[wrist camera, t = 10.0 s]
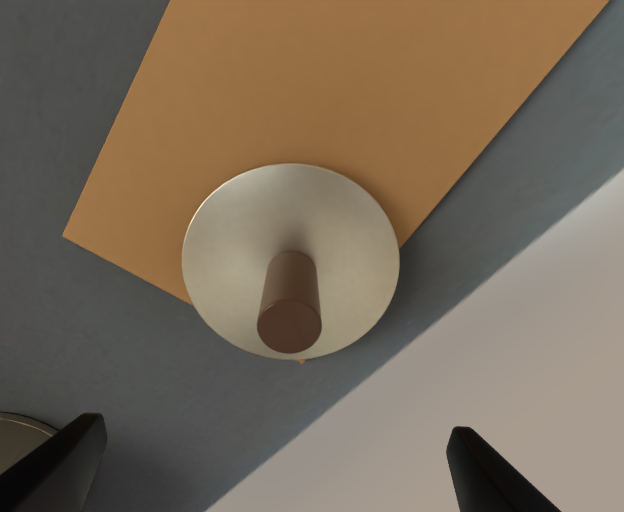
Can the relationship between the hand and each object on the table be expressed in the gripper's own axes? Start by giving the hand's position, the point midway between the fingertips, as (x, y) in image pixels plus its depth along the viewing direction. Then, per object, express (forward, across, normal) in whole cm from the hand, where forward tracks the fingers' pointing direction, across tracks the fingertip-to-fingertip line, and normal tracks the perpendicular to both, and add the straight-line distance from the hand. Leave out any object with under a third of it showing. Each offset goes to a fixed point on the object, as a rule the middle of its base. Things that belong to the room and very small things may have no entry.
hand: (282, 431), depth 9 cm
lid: (+9, 0, 0) cm, 9 cm away
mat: (+10, 0, -7) cm, 12 cm away
